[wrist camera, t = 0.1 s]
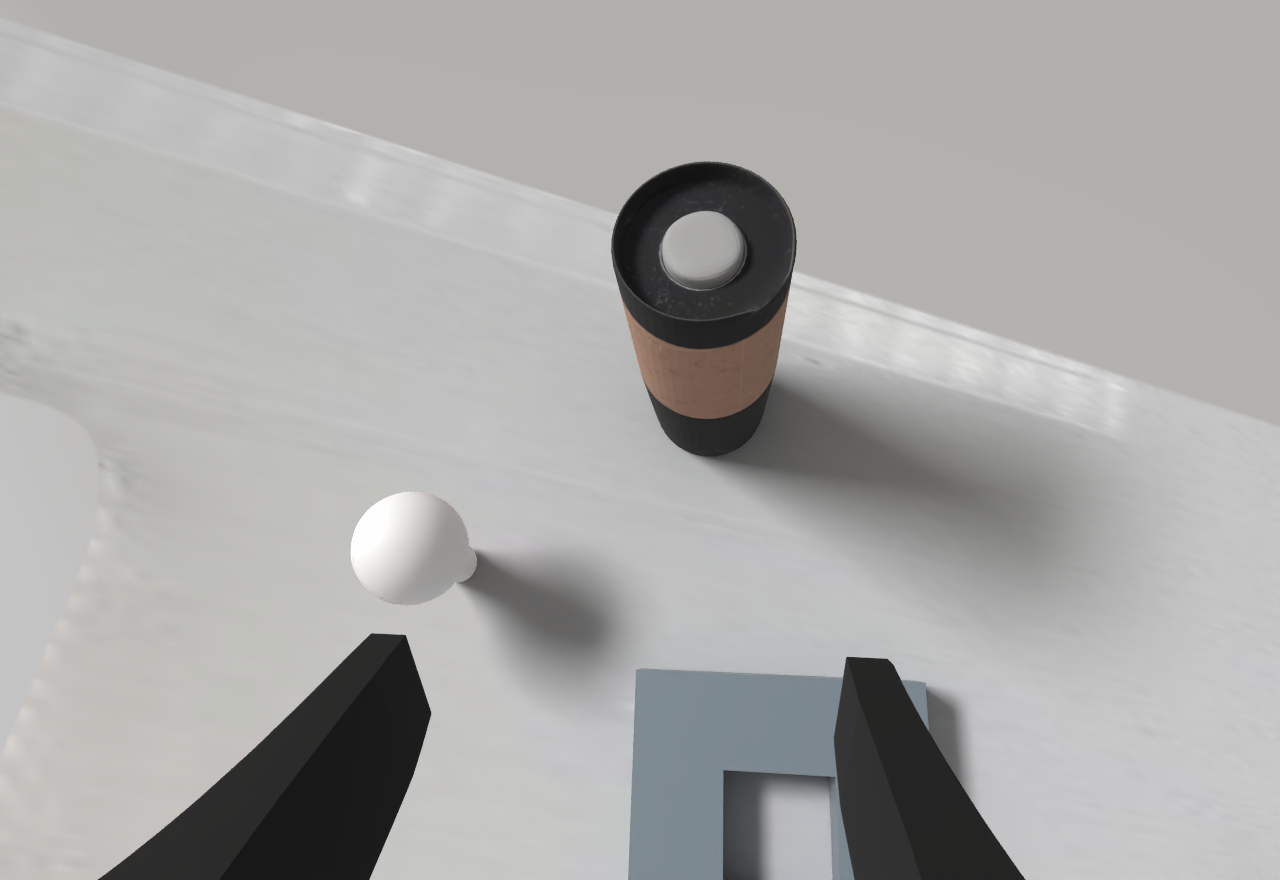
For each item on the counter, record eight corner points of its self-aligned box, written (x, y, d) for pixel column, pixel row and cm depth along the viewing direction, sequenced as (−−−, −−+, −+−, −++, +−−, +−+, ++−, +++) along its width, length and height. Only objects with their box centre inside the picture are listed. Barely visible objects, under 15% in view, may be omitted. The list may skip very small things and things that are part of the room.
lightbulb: (501, 509, 46) (437, 469, 36) (514, 601, 44) (450, 587, 34) (414, 528, 46) (324, 493, 36) (422, 620, 44) (330, 612, 34)
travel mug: (649, 359, 48) (603, 169, 29) (760, 348, 47) (787, 146, 28) (656, 465, 46) (611, 335, 27) (773, 455, 45) (812, 314, 26)
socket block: (936, 1007, 36) (951, 1033, 33) (629, 977, 38) (623, 1000, 35) (913, 680, 40) (925, 682, 38) (640, 668, 42) (636, 669, 40)
